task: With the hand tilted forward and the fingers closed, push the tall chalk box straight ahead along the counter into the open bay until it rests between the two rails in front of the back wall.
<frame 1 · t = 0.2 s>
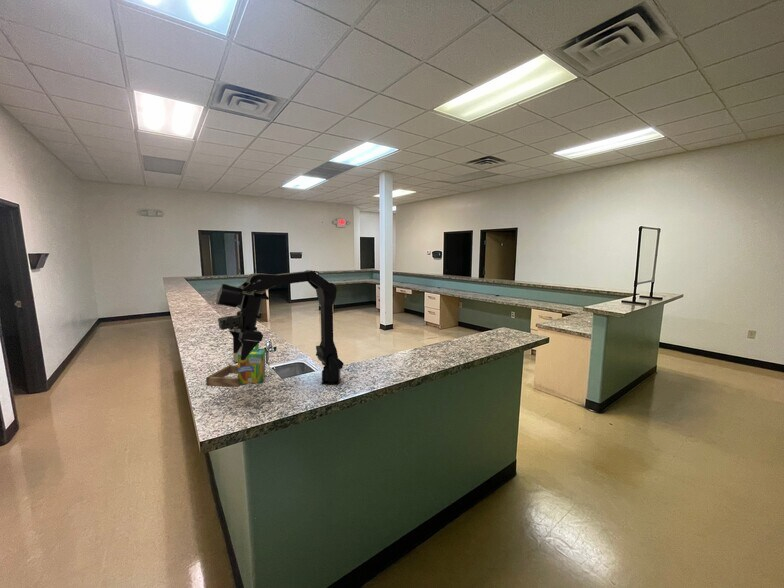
hand: (238, 356, 104), 15 cm above the countertop, tool pointing down, fingers open, 9 cm apart
chalk box: (252, 380, 125), on the countertop
bay: (234, 379, 125), on the countertop
travel mug: (242, 360, 150), on the countertop
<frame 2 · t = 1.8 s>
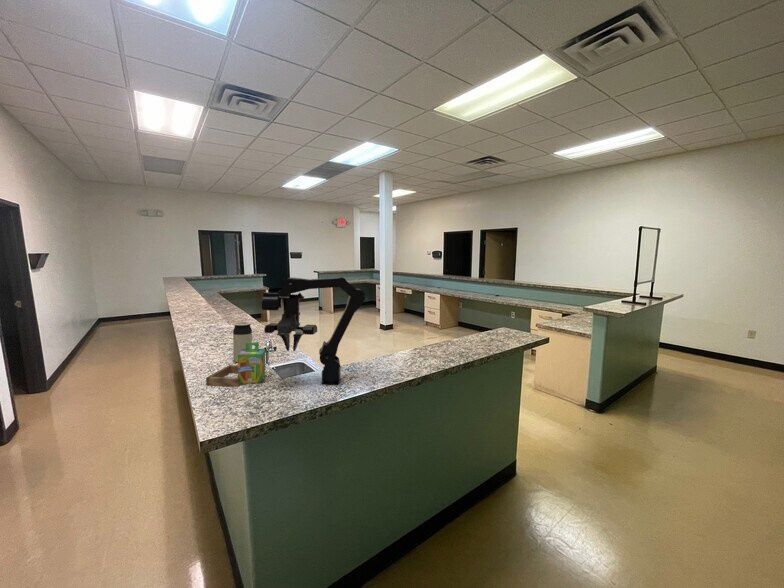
hand: (291, 350, 121), 13 cm above the countertop, tool pointing down, fingers closed
nothing on the countertop moved.
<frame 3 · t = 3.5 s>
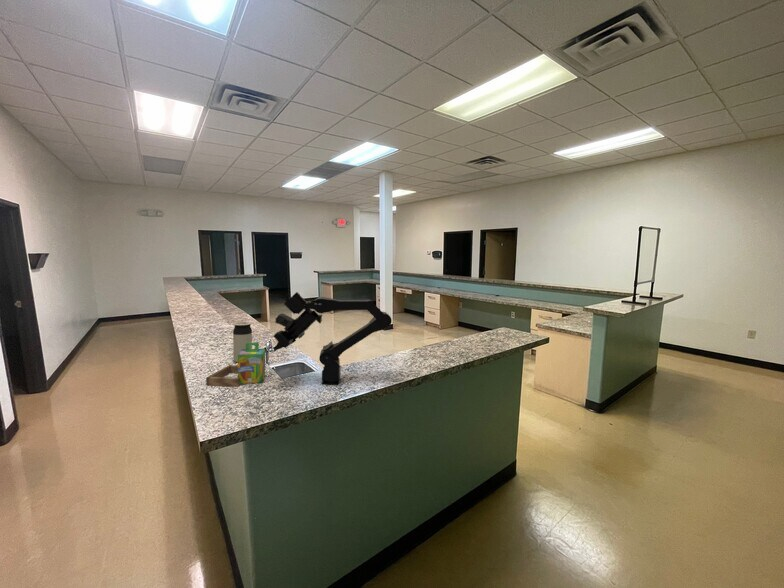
hand: (275, 349, 124), 13 cm above the countertop, tool tilted 45°, fingers closed
nothing on the countertop moved.
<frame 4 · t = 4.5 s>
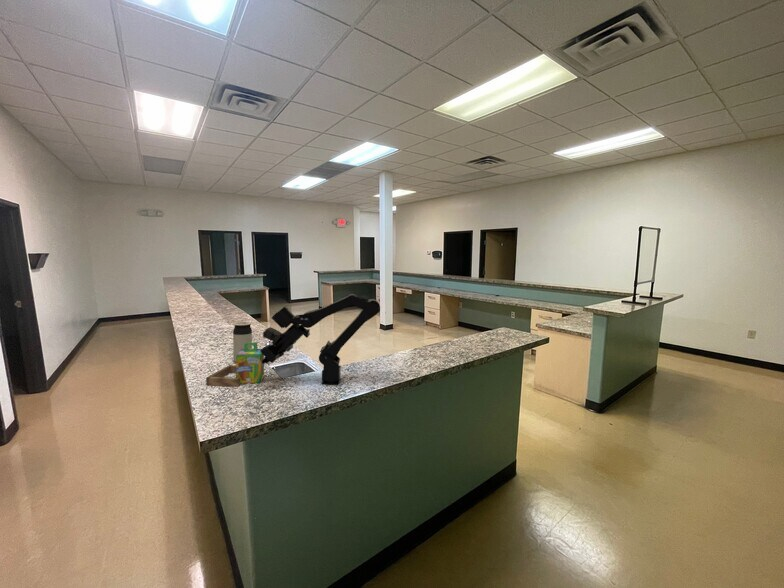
hand: (263, 362, 124), 7 cm above the countertop, tool tilted 45°, fingers closed
chalk box: (250, 380, 125), on the countertop, touching gripper
everything else where it was.
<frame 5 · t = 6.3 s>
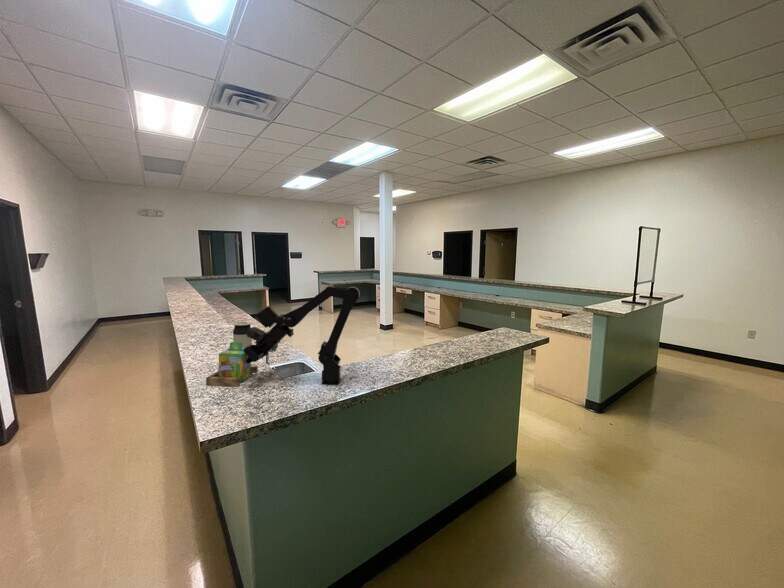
hand: (247, 362, 125), 7 cm above the countertop, tool tilted 45°, fingers closed
chalk box: (235, 379, 125), on the countertop, touching gripper
everything else where it was.
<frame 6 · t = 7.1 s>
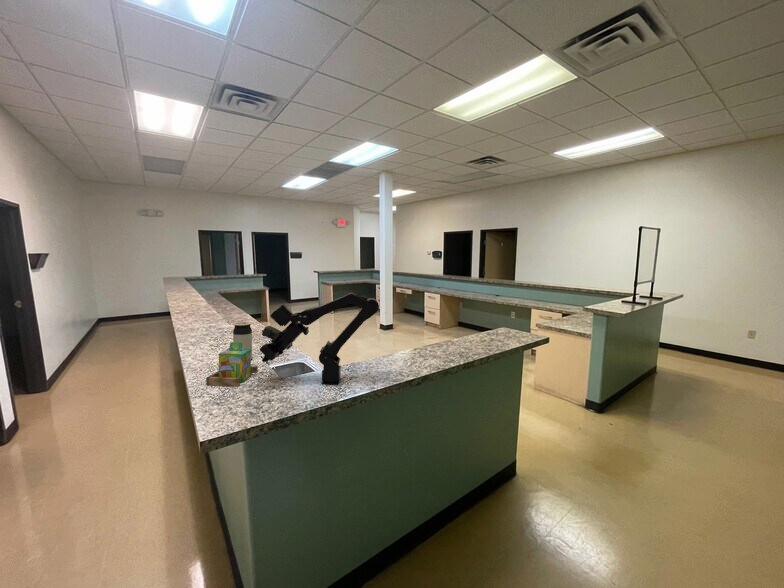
hand: (263, 361, 124), 8 cm above the countertop, tool tilted 45°, fingers closed
chalk box: (235, 379, 125), on the countertop
everything else where it was.
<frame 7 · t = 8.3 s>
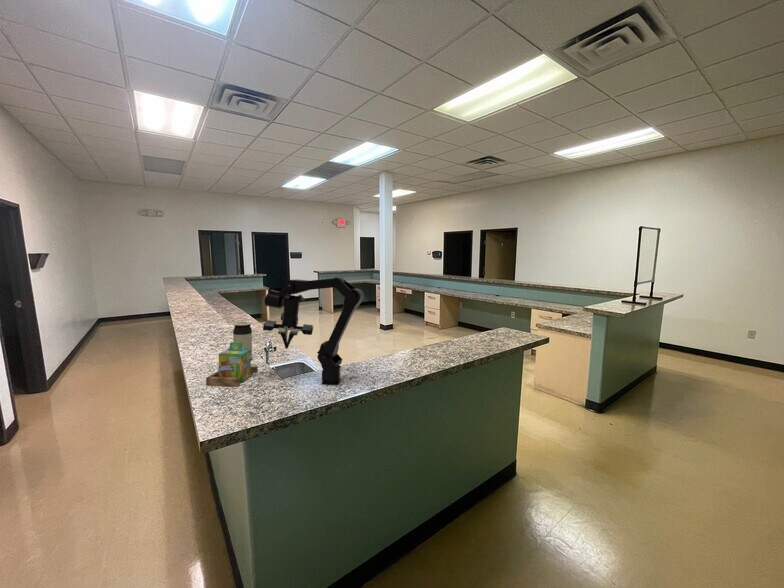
hand: (286, 348, 128), 12 cm above the countertop, tool pointing down, fingers closed
nothing on the countertop moved.
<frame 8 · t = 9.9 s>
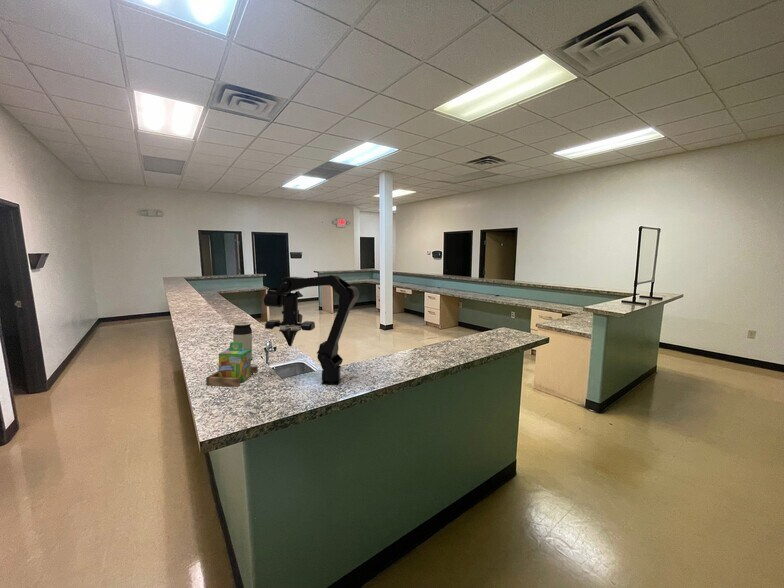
hand: (290, 346, 128), 13 cm above the countertop, tool pointing down, fingers closed
nothing on the countertop moved.
at the end: chalk box inside the target area on the bay (1.1 cm from its centre), point 0.0 cm above the bay's base; chalk box tilted 0° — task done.
